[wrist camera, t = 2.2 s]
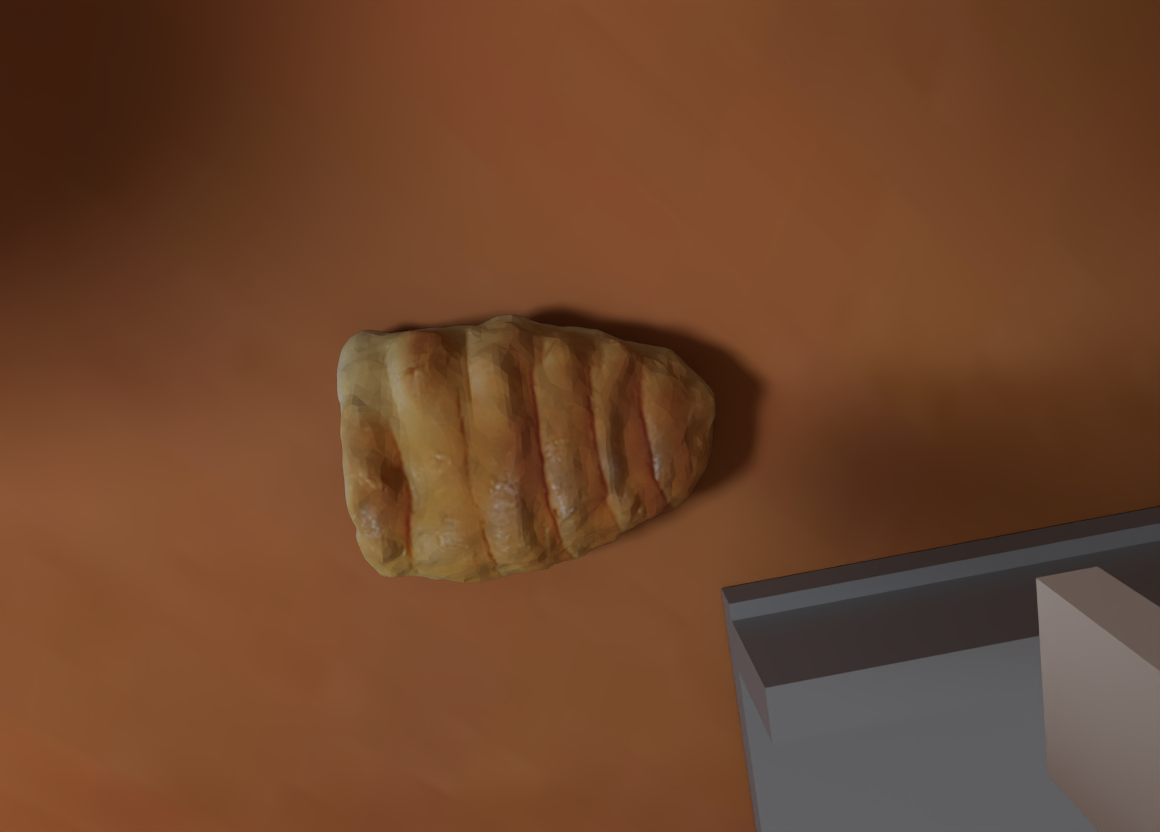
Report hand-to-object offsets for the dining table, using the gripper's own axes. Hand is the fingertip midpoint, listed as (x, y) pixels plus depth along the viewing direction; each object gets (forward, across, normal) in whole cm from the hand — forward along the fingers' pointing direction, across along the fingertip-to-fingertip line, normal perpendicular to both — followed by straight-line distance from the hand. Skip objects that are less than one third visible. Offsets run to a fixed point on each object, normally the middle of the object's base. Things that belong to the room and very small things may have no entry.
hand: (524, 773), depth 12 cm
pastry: (+14, 0, +1) cm, 14 cm away
